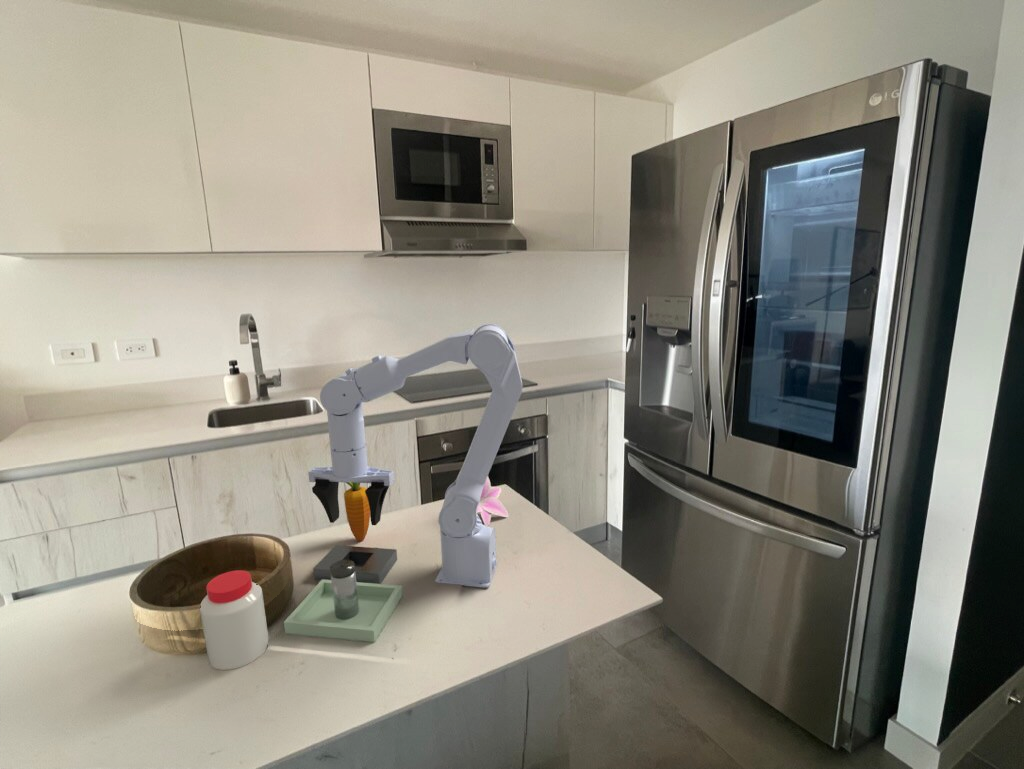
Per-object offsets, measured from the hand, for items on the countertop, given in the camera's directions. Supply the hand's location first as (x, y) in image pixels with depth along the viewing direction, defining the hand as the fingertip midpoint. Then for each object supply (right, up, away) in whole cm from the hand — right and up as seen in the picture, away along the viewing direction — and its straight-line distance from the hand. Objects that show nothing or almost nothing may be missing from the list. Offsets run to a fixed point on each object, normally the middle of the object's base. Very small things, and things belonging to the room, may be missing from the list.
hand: (355, 521), depth 90 cm
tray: (+1, -13, -9) cm, 15 cm away
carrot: (-3, -8, +14) cm, 16 cm away
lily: (+21, -6, +23) cm, 31 cm away
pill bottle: (-12, -15, -16) cm, 24 cm away
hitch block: (-1, -10, +3) cm, 10 cm away
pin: (+1, -12, -9) cm, 15 cm away
